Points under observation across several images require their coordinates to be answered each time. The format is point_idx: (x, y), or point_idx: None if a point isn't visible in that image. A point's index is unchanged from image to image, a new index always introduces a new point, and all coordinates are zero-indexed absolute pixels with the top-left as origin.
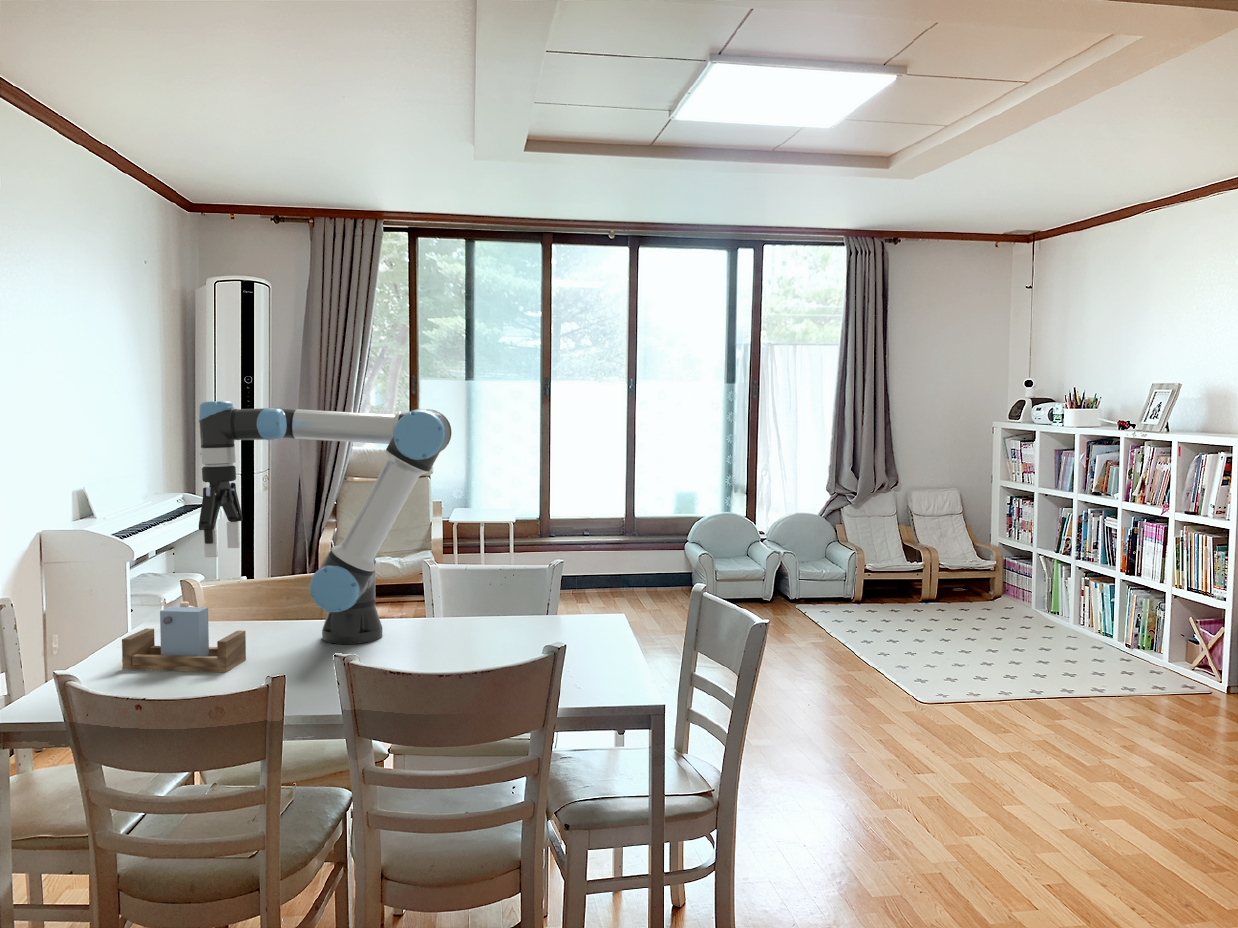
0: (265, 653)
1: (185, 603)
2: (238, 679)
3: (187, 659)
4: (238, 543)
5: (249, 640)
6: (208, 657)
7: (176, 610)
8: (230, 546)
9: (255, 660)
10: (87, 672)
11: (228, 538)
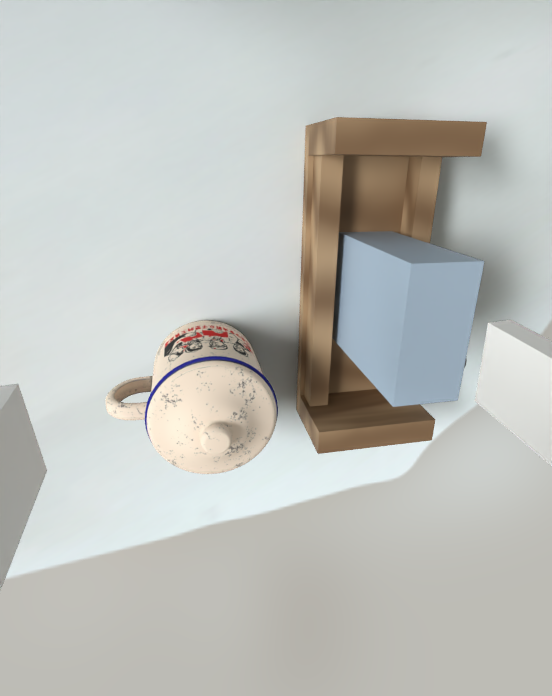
0: (223, 88)
1: (228, 432)
2: (500, 56)
3: None
4: (2, 407)
5: (67, 225)
6: (430, 193)
7: (453, 353)
8: (36, 459)
9: (309, 88)
10: (411, 450)
11: (13, 532)
